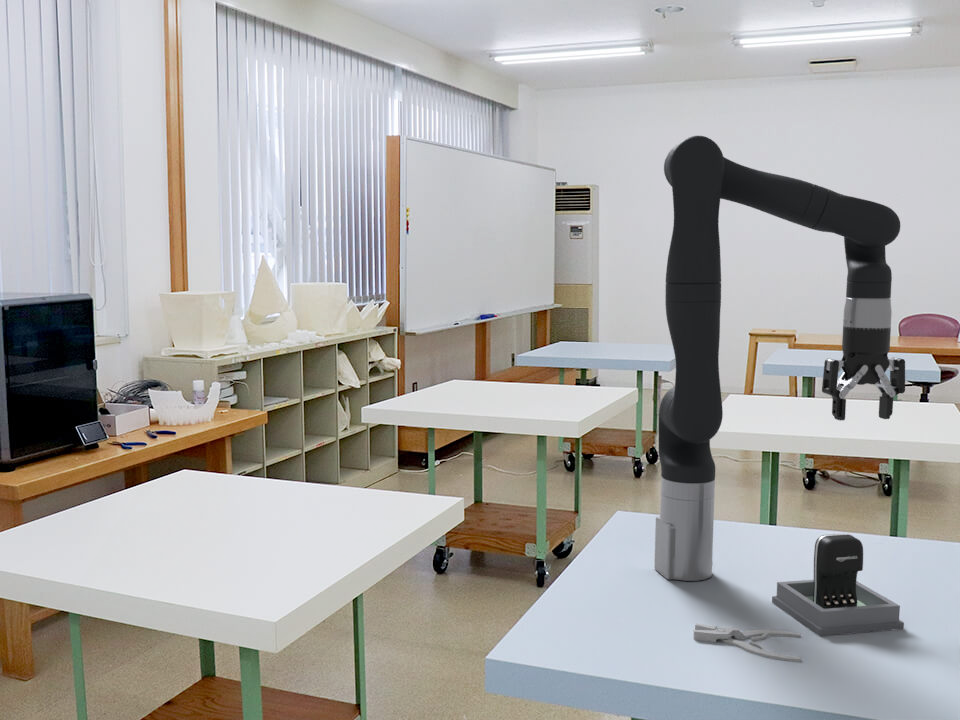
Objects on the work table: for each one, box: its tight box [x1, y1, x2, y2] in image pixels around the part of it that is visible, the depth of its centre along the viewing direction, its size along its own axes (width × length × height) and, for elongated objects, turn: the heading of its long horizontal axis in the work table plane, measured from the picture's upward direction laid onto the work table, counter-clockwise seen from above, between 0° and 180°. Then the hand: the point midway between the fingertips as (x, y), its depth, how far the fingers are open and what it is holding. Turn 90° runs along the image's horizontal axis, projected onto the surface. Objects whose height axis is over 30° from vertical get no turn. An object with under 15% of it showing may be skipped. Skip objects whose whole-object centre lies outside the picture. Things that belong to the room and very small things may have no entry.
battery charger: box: [813, 533, 864, 609], centre depth 148 cm, size 7×4×11 cm, turn 103°
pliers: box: [692, 623, 802, 663], centre depth 139 cm, size 10×2×15 cm
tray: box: [771, 579, 905, 637], centre depth 149 cm, size 14×14×4 cm
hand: (862, 419), depth 163 cm, fingers open, 8 cm apart
